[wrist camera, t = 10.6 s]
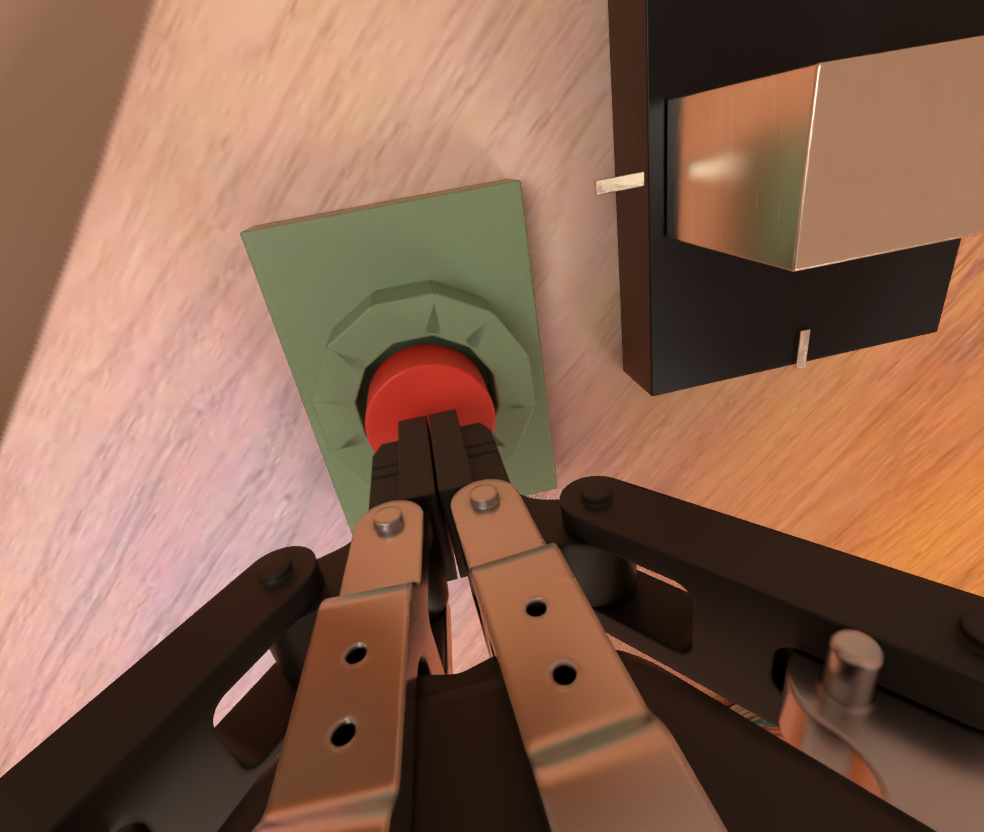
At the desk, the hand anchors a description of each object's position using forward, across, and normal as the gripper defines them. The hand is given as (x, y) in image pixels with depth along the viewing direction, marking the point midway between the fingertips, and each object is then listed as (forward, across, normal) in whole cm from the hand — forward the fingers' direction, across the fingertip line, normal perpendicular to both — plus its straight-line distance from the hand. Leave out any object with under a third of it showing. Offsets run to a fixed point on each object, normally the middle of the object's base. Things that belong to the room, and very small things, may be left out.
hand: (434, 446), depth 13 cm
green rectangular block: (+6, 0, 0) cm, 6 cm away
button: (+3, 0, 0) cm, 3 cm away
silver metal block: (+3, -13, -5) cm, 14 cm away
